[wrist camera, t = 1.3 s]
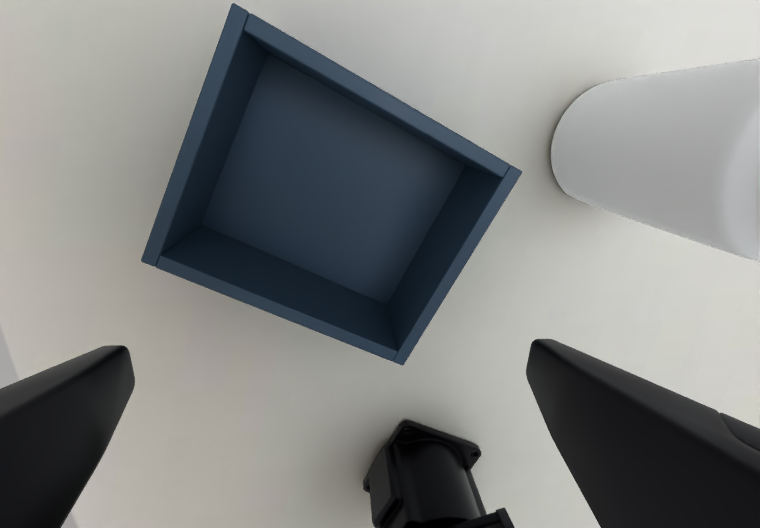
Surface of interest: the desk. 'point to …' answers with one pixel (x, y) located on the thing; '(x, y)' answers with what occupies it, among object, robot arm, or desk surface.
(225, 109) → the bin
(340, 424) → the desk surface
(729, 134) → the can
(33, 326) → the desk surface
